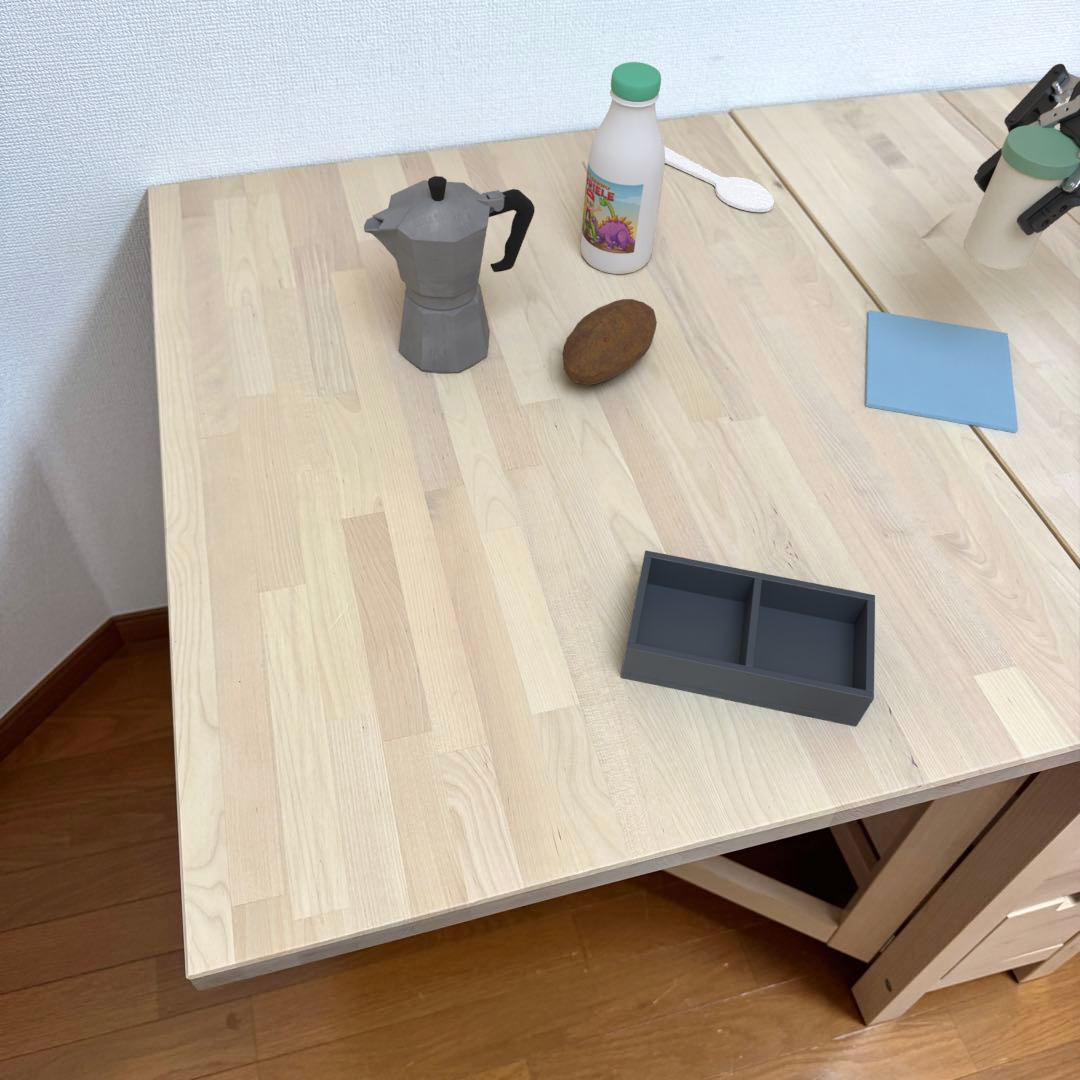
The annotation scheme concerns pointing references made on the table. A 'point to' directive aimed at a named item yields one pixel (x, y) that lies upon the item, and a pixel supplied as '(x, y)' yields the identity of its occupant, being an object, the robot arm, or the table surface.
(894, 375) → the mat
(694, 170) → the spoon
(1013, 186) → the container
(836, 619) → the divided tray
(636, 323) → the potato
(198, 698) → the table surface
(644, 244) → the milk bottle
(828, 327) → the table surface
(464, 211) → the coffeepot
